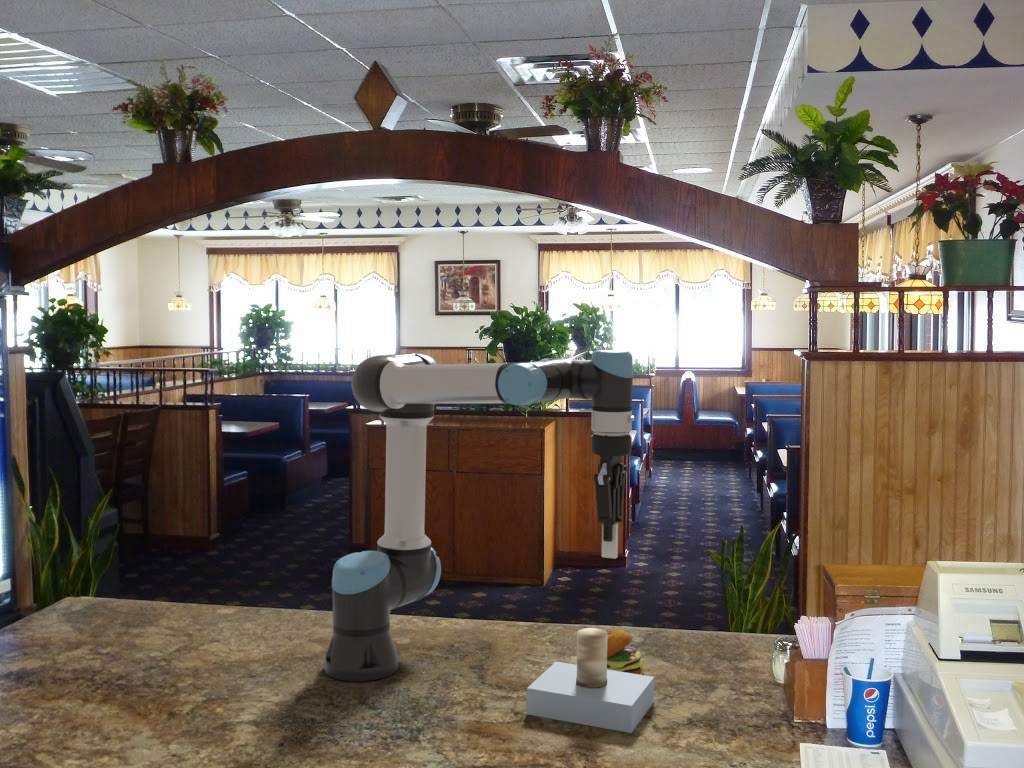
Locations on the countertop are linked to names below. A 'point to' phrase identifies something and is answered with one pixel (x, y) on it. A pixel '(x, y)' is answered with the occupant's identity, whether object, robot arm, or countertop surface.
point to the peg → (591, 658)
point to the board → (591, 698)
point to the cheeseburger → (623, 654)
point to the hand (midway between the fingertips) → (609, 556)
